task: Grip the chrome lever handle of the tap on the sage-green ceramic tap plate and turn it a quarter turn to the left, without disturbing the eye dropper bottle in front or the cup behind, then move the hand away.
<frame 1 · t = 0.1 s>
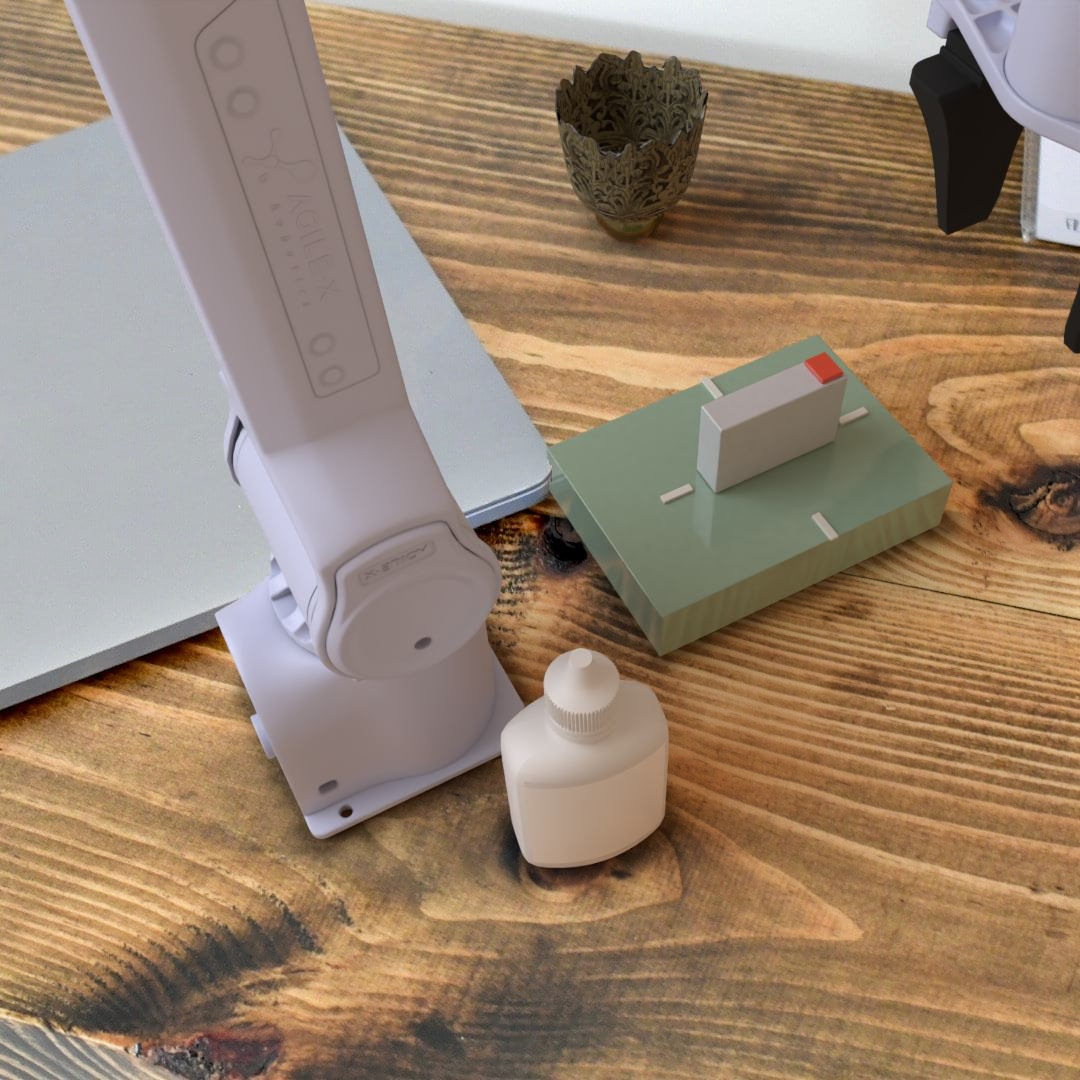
hand: (1023, 278, 51), 10 cm above the table, tool pointing down, fingers open, 7 cm apart
tap plate: (740, 507, 58), on the table
eye dropper bottle: (588, 824, 50), on the table
tap handle: (770, 421, 54), point 5 cm above the table, hinge at 0.0°
cup: (629, 226, 70), on the table
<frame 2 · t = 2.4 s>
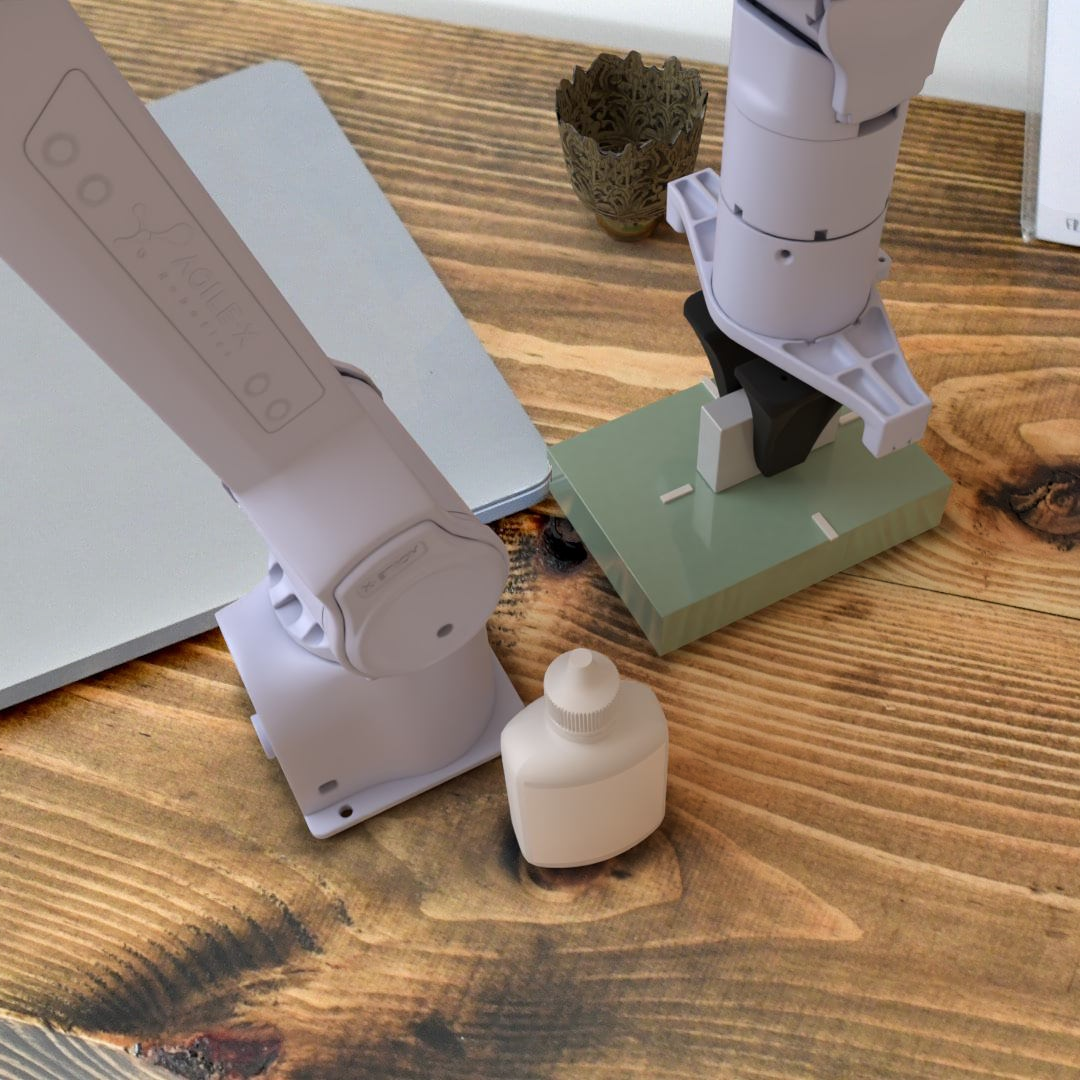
hand: (767, 446, 55), 4 cm above the table, tool pointing down, fingers closed on tap handle, 2 cm apart
tap handle: (770, 421, 54), point 5 cm above the table, hinge at 0.0°, touching gripper
everything else where it was.
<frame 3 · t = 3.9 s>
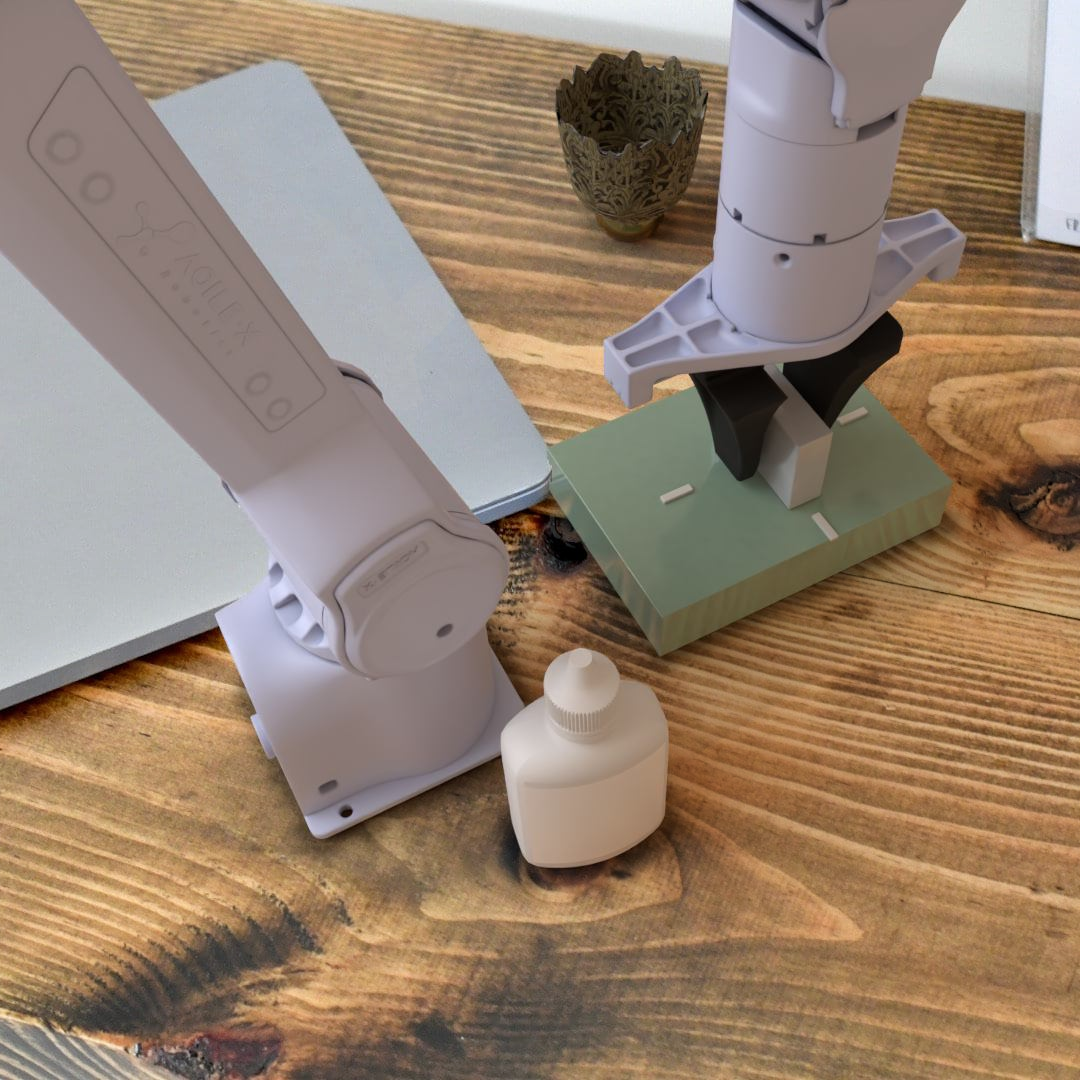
hand: (766, 449, 55), 3 cm above the table, tool pointing down, fingers open, 3 cm apart
tap handle: (770, 421, 54), point 5 cm above the table, hinge at 89.6°
everything else where it was.
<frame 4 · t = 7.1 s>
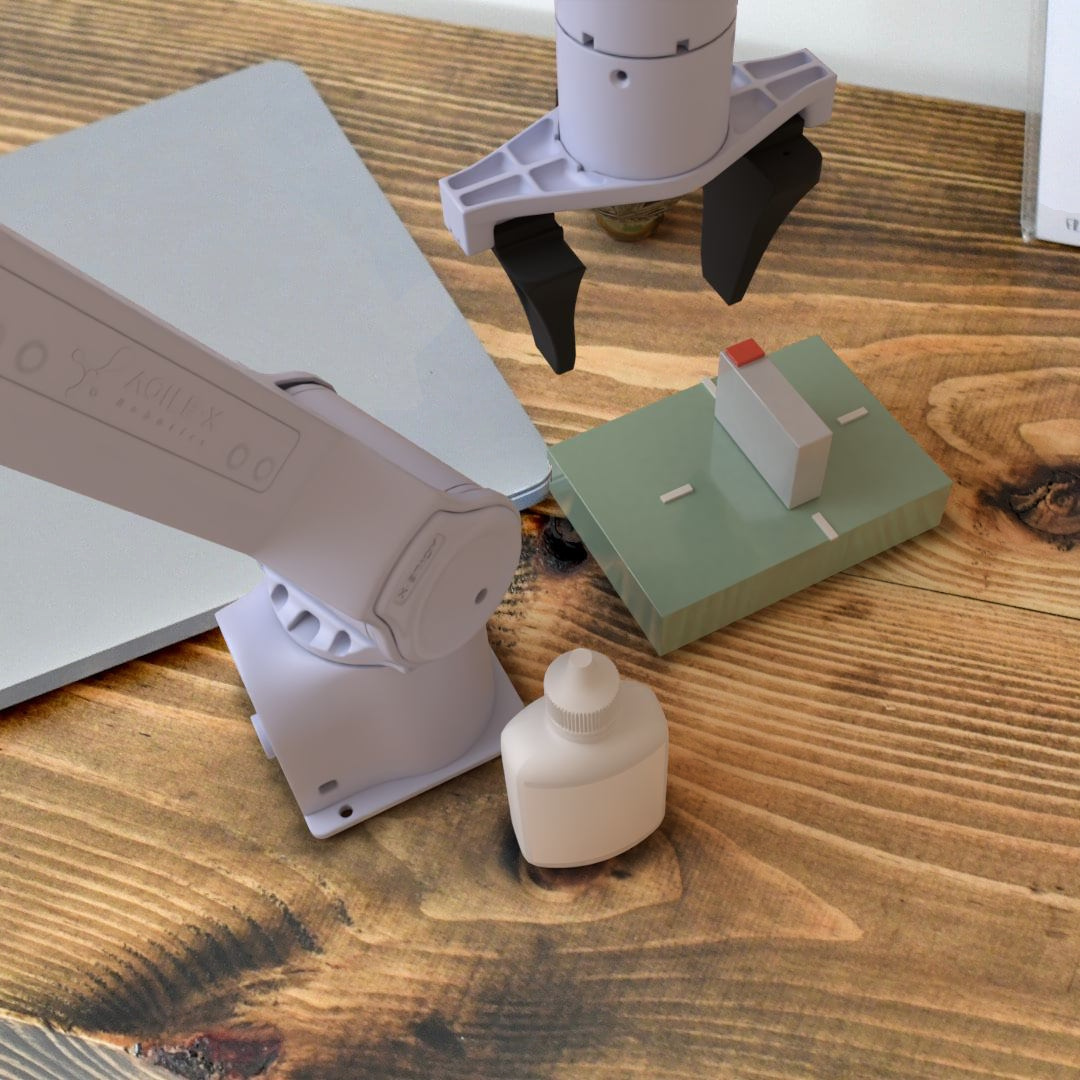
hand: (639, 322, 52), 9 cm above the table, tool pointing down, fingers open, 7 cm apart
nothing on the table moved.
at the end: tap handle at +90° (first picture: +0°); eye dropper bottle moved 0.2 cm from its start; cup moved 0.2 cm from its start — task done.
